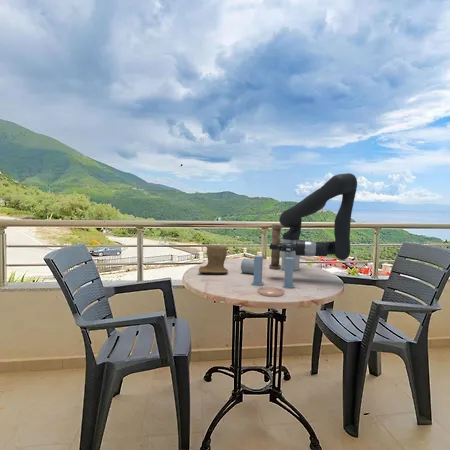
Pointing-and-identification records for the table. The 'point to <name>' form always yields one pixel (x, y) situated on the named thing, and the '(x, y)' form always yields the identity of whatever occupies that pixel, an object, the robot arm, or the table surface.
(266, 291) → the disc
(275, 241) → the candlestick
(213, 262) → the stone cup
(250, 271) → the ceramic mug
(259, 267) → the blue pillar pair
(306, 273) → the table surface
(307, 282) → the table surface
